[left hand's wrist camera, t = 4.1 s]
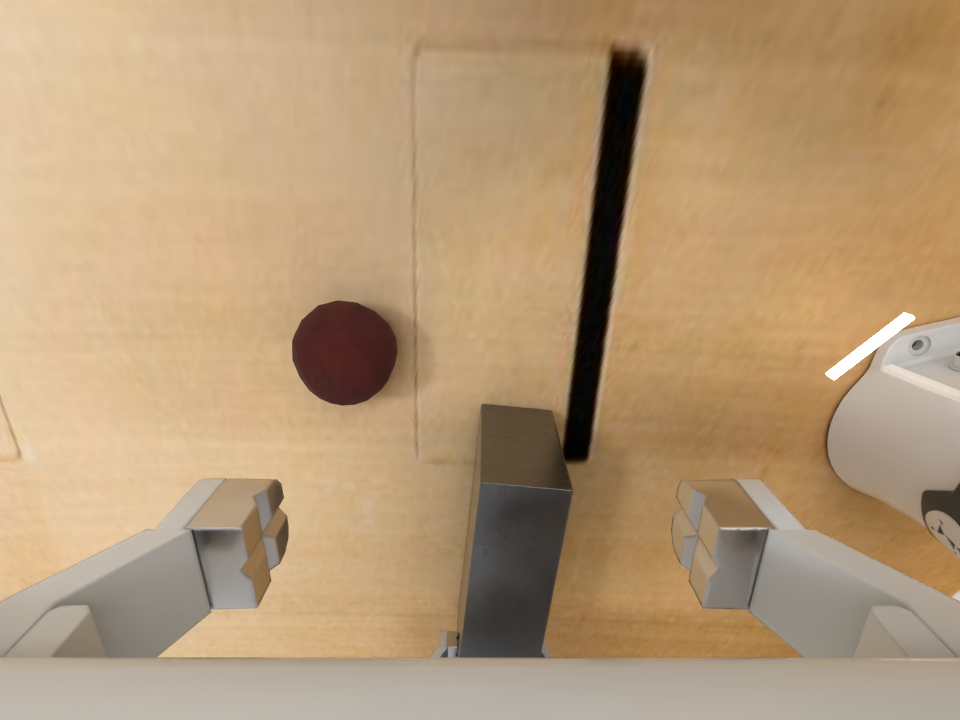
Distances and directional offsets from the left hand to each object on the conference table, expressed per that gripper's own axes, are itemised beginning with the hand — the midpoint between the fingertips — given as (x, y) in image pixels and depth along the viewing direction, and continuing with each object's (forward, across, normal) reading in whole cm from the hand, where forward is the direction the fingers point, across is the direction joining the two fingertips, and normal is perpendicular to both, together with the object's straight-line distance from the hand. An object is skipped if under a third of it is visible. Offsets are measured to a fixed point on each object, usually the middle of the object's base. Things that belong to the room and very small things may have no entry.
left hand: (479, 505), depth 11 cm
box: (+30, +2, -24) cm, 39 cm away
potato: (+31, -10, -6) cm, 33 cm away
